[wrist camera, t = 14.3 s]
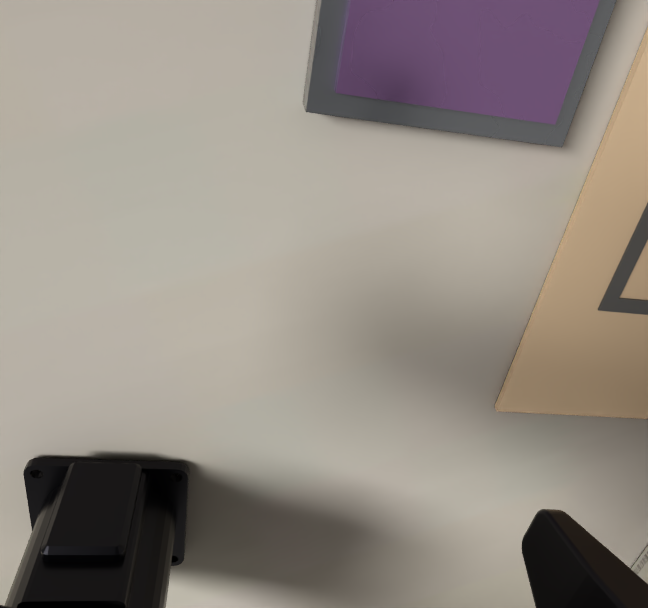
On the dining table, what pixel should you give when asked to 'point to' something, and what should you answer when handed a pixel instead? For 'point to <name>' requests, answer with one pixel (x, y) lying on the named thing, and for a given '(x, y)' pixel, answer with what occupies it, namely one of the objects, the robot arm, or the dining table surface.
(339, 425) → the dining table surface
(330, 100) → the ink pad
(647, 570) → the coffee box
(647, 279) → the stamp board
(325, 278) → the dining table surface
